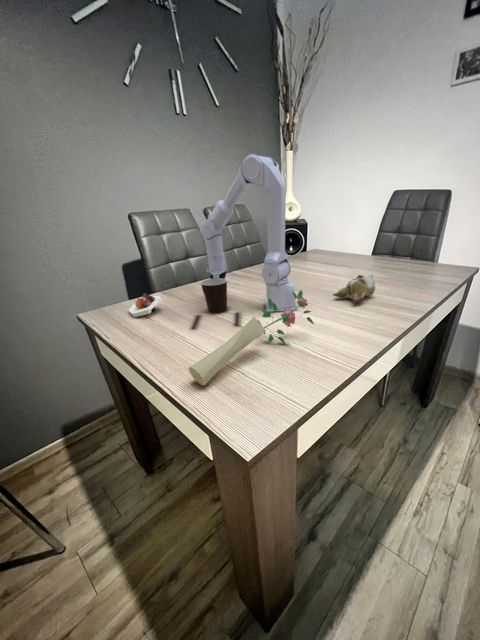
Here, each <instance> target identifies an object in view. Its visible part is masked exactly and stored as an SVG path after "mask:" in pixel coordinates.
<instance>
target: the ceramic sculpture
mask: <svg viewBox="0 0 480 640" xmlns="http://www.w3.org/2000/svg"><path fill="white" fill-rule="evenodd" d="M375 290H376V281H375V279H374V275H373V274H370V275H367V276H364V275H361V274H359V275H357V276H356V278H353V279H350V280H349V281H348V282H347V284H346V286H345V287H342V288H340V289H339V290H338V291H337V292H336V293H332V296H334V297H338V298H345V297H347V298H348V299H350V300H352V301H353V302H355V303H360V302H361V303H362V301H363V300H364V299H365V298H366V297H371V296H373V295H374V293H375Z"/></svg>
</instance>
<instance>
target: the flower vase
mask: <svg viewBox="0 0 480 640" xmlns="http://www.w3.org/2000/svg"><path fill="white" fill-rule="evenodd" d="M293 295H294V297H295V304H296V305H297V306H296V308H295V309H294V310H291V309H288V310H287V309H285V311H282V313H280V316H281V317H279V318H278V319H275V320H272V321H271V322H270V323H268V324H267V325H265V326H263V324H262V323H261V321H260V320H259V319H257V318H256V317H255V316H253V317H252V318H251V319H250V320H249V321H248V322H247V323H246V324H245V325H244V326H243V327H242V328H240V330H239V331H238V332H236V333H234V335H233V336H231V338H229V339H228V340H227V341H226V342H225V343H223V344H221V345H220V346H219V347H217V348H216V349H215V350H213V351H212V352H210V353H209V354H207V355H205V357H203V358H201V359H200V360H199V361H197V362H196V363H194V364H193V365H191V366H189V367H188V372H189V374H190V375H191V377H192V378H193V379H194V381H196V382H197V383H198V384H199V385H201V386H203V387H204V386H206V385H207V383H208V382H210V381H211V379H212V378H213V377H215V375H216V374H217V373H218V372H219V371H220V370H221V369H222V368H223V367H225V365H226V364H228V363H229V362H230V360H231V359H233V358H234V357H235V356H236V355H237V354H238V353H239V352H241V351H242V350H243V349H245V348H246V347H247V346H248V345H250V344H251V343H252V342H254V341H255V340H256V339H259V338H260V337H261V336H262V335H266V332H267V330H269V331H270V332H271V334H269V336H268V338H267V339H268V340H267V344H269V343H271V342H273V340H274V336H273V335H275V334H274V333H273V332H275V333H277V334H279V335H285V332H284V331H283V330H282V329H277V330H276V331H274V330H271V329H269V328H268V327H270V326H272V325H273V324H275V323H278V322H279V321H282V322H281V323H282V324H284V326H286V327H287V328H289V327H290V328H291V327H292V325H294V324H295V323H296V313H295V311H296V310H297V309H298V308H302V309H305V308H306V307H308V304H309V303H308V301H307V298H305V297H303V295H304V293H303V289H300V290H299V291H298V293H297V294H296V292H295V293H294V292H293ZM268 302H269V307H270V308H272V307H273V310H274V311H272V312H269V311H267V310H266V309H262V312H263V314H262V315H261V318H271V319H274V315H275V313H273V312H278V311H277V306H276V304H275V303H274V302H272V300H271V299H270V298H269V301H268ZM286 310H287V311H286ZM309 313H312V311H311V310H303V313H302V314H301V315H300V317H301V318H304V319H306V320H307V321H308V322H309V323H310V324H312V325H315V324H314V321H313V319H312V318H311V317H309V316H307V317H305V316H302V315H304V314H305V315H306V314H309ZM266 329H267V330H266ZM272 334H273V335H272ZM276 338H277V339H278V340H280V341H281V342H282V343H283V345H286V342H285V339H284V338H283V337H281V336H276Z"/></svg>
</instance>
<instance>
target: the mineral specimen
mask: <svg viewBox="0 0 480 640" xmlns="http://www.w3.org/2000/svg"><path fill="white" fill-rule="evenodd" d="M161 301H163V298H162V297H160V296H159V295H154V296H152V295H150V294H148V293H145V292H143V294H142V296H141V298H139V297H138V298H137V299H136V301H135V303H133V304H132V305H131V307H130V308H128V311H129V312H130V314H131V315H132V316H133V317H134V318H137V317H142V316H145V315H149V314H151V313H154V312H155V308H156V307H157V306H158V304H160V302H161Z"/></svg>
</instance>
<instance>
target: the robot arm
mask: <svg viewBox="0 0 480 640" xmlns="http://www.w3.org/2000/svg"><path fill="white" fill-rule="evenodd" d="M254 186H257V187H259V189H261V191H262V192H263V193H265V194H266V220H267V221H266V222H267V223H266V224H267V226H266V227H267V228H266V229H267V233H266V234H267V253H266V255H265V257H264V260H263V267H262V269H261V278H262V279H263V281H264V282H265V292H266V302H265V310H267V311H269V312H270V313H271V312H272V313H273V312H275V311H274V310H273V307H272V308H270V307H269V302H268V301H269V298H270V299H271V300H272V302H274V303H275V304H276V306H277V311H276V312H283V311H285V309H287V310H288V309H291V310H292V311H293V310H294V309H296V308H295V306H296V305H295V304H296V300H295V297H294V295H293V292H294V293H295V294H296V291H295V290H296V288H295V282H294V281H293V280H289V279H288V276H290V274H291V270H292V267H291V264H290V261H289V255H288V253H287V252H286V211H287V210H286V209H287V208H286V206H287V205H286V203H287V187H286V186H287V185H286V183H285V180H284V178H283V175H282V173H281V171H280V165H279V164H278V162H277V161H275V159H273V158H272V157H271V156H262V155H257V154H254V153H251V154H248V155H247V156H246V157H245V158H244V159H243V162H242V163H241V164H240V165H239V167H238V172H237V175H236V177H235V179H234V180H233V182H232V184H231V186H230V188H229V190H228V191H227V194H226V195H225V197H224V199H220V200H218V201H215V203H214V208H213V209H212V211H211V213H209V214H208V215H207V219H204V220H201V222H200V225H199V231H200V235H201V236H202V237H203V238H204V240H205V241H204V242H205V249H206V256H207V261H208V268H207V269H205V271H206V273H210V276H209V279H215V278H222V279H226V276H227V273H226V271H227V268H226V263H225V256H224V247H223V236H224V234H225V227H226V225H227V223H228V222H229V221H230V220H231V218H232V216H233V215H234V212H235V211H234V206H235V205H236V204H237V203H238V201H239V200H240V199H241V198H242V196H243V195H244V194H245V192H246V191H247V189H248V188H251V187H254ZM287 310H286V311H287ZM294 311H295V310H294Z"/></svg>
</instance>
